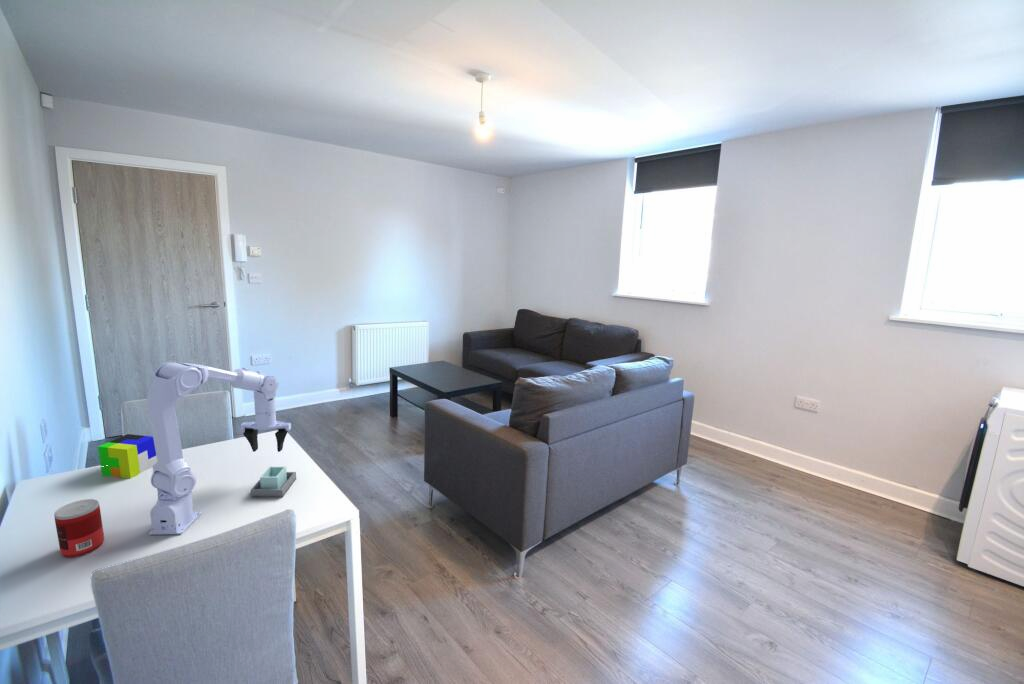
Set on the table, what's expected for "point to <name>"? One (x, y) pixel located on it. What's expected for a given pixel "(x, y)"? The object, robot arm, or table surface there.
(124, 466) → the puzzle toy
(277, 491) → the gray tray
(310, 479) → the table surface
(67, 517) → the canned food
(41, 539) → the table surface
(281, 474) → the small crate
